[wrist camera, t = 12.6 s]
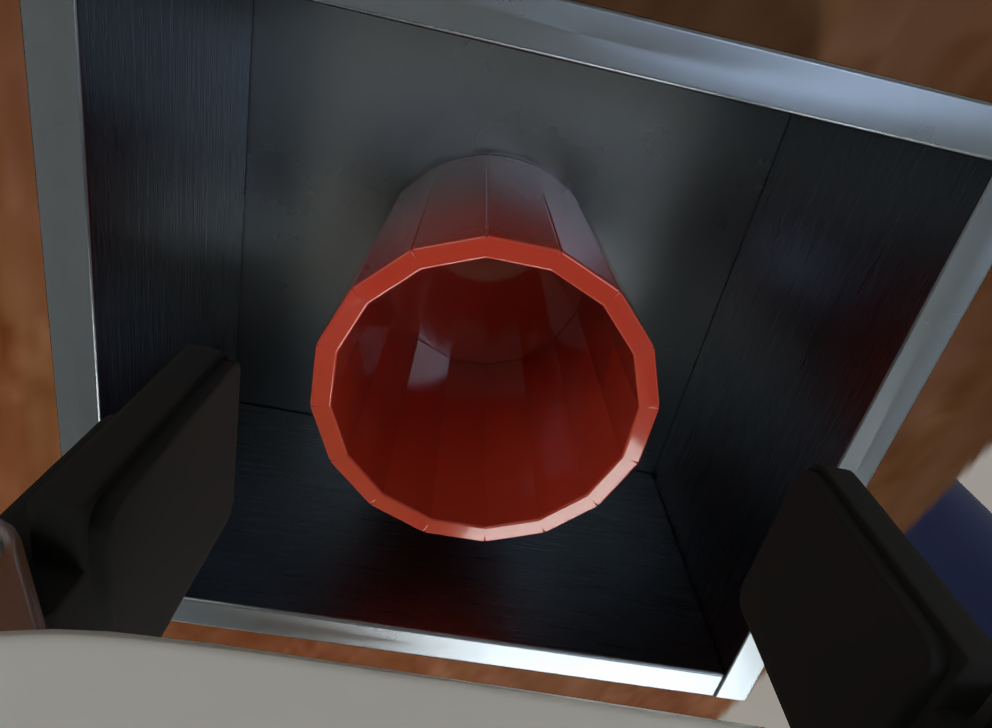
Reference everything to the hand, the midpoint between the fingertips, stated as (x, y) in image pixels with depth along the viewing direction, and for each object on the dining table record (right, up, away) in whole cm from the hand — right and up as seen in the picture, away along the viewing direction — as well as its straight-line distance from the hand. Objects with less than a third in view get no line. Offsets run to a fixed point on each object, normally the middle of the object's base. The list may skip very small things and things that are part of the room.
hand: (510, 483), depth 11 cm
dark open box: (-1, +5, +9) cm, 11 cm away
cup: (-1, +5, +8) cm, 10 cm away
